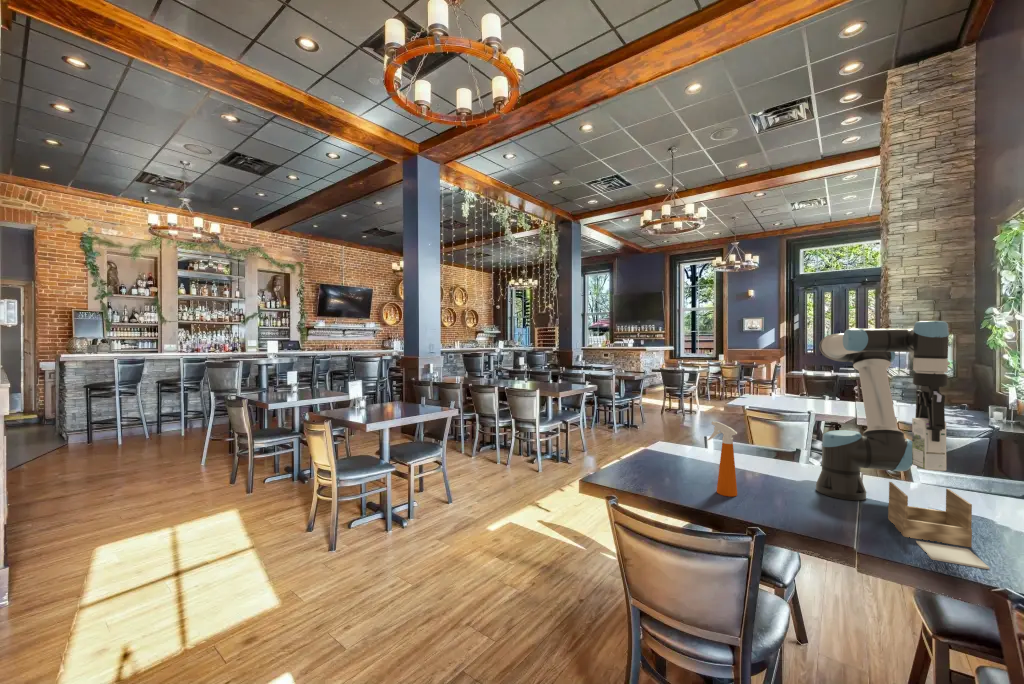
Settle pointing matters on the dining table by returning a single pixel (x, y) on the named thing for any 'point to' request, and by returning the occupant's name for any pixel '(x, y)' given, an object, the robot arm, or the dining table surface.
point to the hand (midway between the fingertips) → (928, 449)
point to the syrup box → (920, 447)
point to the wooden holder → (932, 519)
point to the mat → (951, 554)
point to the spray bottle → (726, 461)
